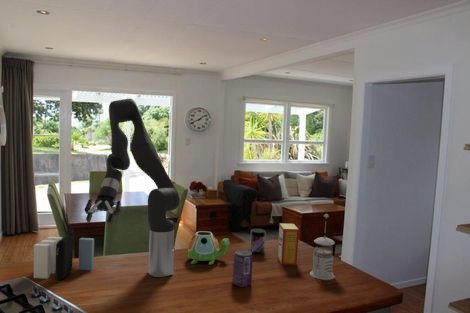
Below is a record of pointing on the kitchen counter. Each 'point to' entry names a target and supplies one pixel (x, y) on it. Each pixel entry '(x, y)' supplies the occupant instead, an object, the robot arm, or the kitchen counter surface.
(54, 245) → the ivory domino
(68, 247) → the carrying case or bag
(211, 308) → the kitchen counter surface
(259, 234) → the supplement container
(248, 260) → the beverage can
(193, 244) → the turtle holder
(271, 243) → the kitchen counter surface
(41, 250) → the ivory domino
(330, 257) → the french press
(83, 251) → the blue-grey rectangular block
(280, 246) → the baking soda box
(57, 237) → the ivory domino
